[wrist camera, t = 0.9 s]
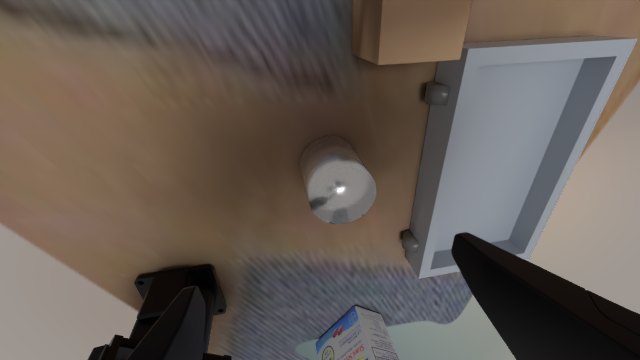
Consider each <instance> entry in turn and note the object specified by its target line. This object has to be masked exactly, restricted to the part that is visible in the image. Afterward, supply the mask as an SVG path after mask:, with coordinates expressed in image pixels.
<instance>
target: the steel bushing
mask: <svg viewBox="0 0 640 360" xmlns="http://www.w3.org/2000/svg"><path fill="white" fill-rule="evenodd" d="M300 167H301V172H302V176H303V180H304V184H305V188H306V192H307V196H308V200H309V204H310V207H311V210H312V212H313V213H314V214H315V215H316V216H317V217H318V218H319V219H320V220H322V221H324V222H327V223H330V224H345V223H349V222H352V221H354V220H356V219H358V218H360V217H361V216H363V215H364V214H365V213H366V212H367V211H368V210H369V209H370V208H371V206H372V205H373V203H374V201H375V198H376V184H375V181H374V179H373V178H372V176H371V175H370V173H369V172H368V170H367V169H366V167H365V166H364V164H363V163H362V162H361V160H360V159H359V157H358V156H357V154H356V153H355V151H354V150H353V148H352V147H351V146H350V144H349V143H348V142H347V141H345V140H344V139H342V138H339V137H336V136H325V137H321V138H318V139H316V140H314V141H313V142H311V143H310V144H309V145H308V146H307V147H306V148H305V150H304V151H303V153H302V156H301V160H300Z"/></svg>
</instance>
